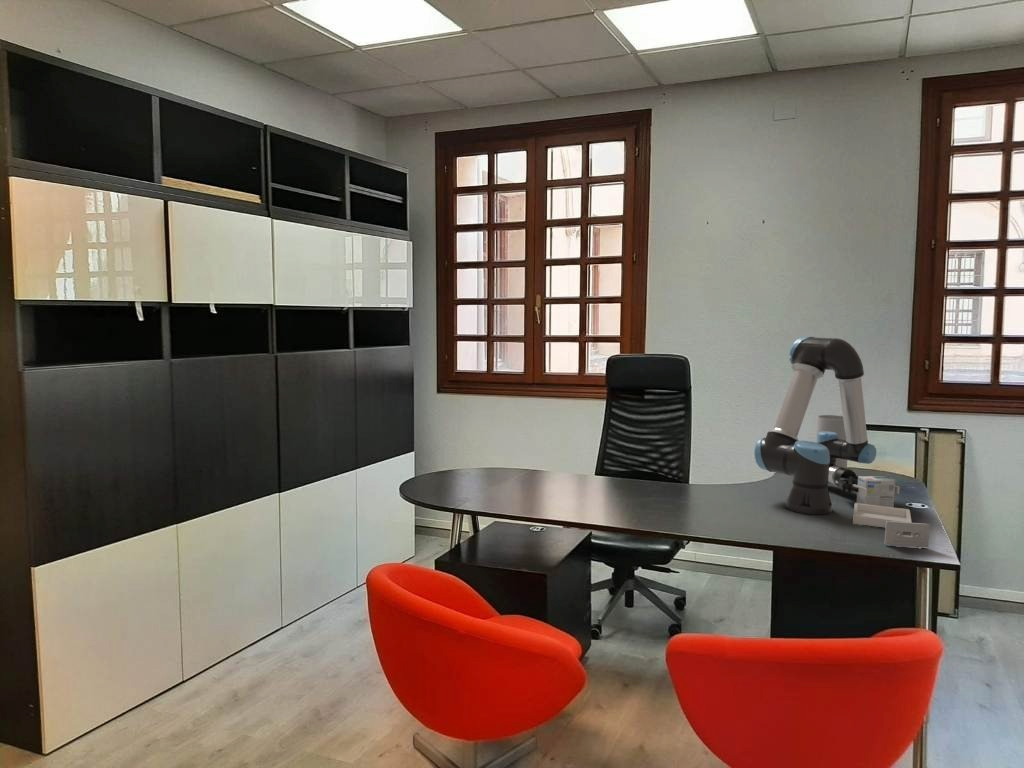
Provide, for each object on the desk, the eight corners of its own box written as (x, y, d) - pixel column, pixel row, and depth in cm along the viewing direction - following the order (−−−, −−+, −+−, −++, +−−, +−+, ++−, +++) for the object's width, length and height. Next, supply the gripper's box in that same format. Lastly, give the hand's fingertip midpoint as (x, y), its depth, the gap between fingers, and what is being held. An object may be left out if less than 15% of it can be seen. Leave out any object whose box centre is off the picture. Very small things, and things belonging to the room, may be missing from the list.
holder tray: (911, 531, 238) (911, 522, 238) (852, 524, 245) (853, 515, 245) (908, 517, 253) (909, 509, 253) (854, 511, 260) (854, 502, 260)
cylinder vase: (820, 471, 321) (824, 414, 318) (850, 476, 312) (854, 417, 309) (809, 475, 312) (812, 417, 309) (839, 481, 303) (843, 420, 300)
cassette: (926, 548, 223) (928, 523, 222) (928, 550, 221) (930, 525, 220) (883, 544, 225) (885, 520, 225) (885, 546, 224) (886, 522, 223)
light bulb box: (884, 504, 270) (886, 475, 268) (894, 509, 263) (896, 480, 262) (855, 504, 269) (857, 475, 268) (864, 509, 263) (866, 480, 261)
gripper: (868, 485, 286) (911, 500, 266) (812, 488, 280) (851, 504, 260) (870, 466, 285) (912, 479, 265) (814, 469, 279) (852, 483, 259)
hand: (882, 491), depth 262 cm, fingers open, 13 cm apart
